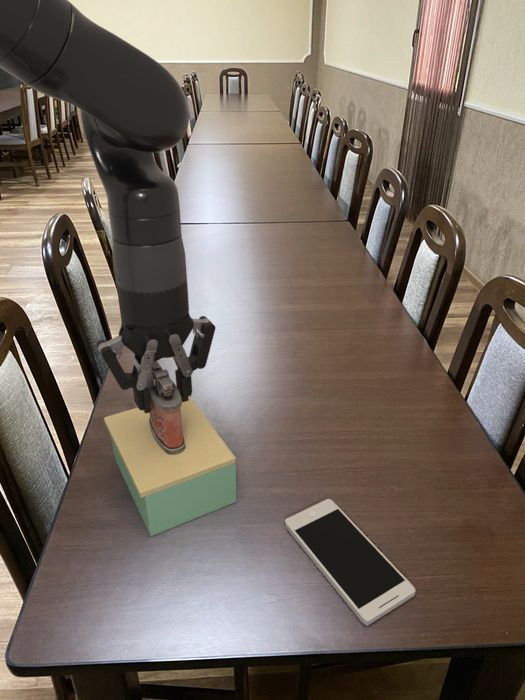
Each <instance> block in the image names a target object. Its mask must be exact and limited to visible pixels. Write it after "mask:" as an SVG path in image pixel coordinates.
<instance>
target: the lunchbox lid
mask: <svg viewBox="0 0 525 700" xmlns="http://www.w3.org/2000/svg"><path fill="white" fill-rule="evenodd" d="M188 397H189V401H186V402H182V406H181V407H180V408H181V419H182V430H183V436H184V439H185V446H186V448H185V450H184V451H183V452H182V453H180V454H177V455H168V454H167V453H165V452H164V451H163V450H162V449H161V448H160V447H159V445H158V444H157V442H156V441H155V440H154V437H153V435H152V433H151V429H150V425H149V417H150V413H146V414H145V413H144V411H143V410H141V411H140V409H139V408H138V406H137V407H134V408H131V409H126V410H124V411H121V412H117V413H115V414H114V413H113V414H111V415H108V416H105V417H103V421H104V424H105V426H106V429H107V431H108V433H109V434H110V438H111V437H112V439H113V441H114V443H115V445H116V447H117V449H118V451H119V454H120V456H121V458H122V460H123V462H124V464H125V466H126V468H127V470H128V472H129V474H130V477H131V479H132V481H133V483H134V485H135V487H136V489H137V491H138V493H139V495H140V497H141V498H142V497H145V496H147V495H150V494H153V493H155V492H158V491H161V490H163V489H166V488H169V487H171V486H174V485H177V484H179V483H182V482H185V481H187V480H190V479H193V478H195V477H198V476H201V475H203V474H206V473H209V472H212V471H214V470H217V469H220V468H222V467H225V466H228V465H230V464H233V463H236V462H237V460H236V459H237V458H236V456H235V455H234V454H233V452H232V450H231V449H230V448H229V447H228V446H227V444H226V442H224V440H223V438H222V437H221V436H220V435H219V433H218V432H217V431H216V429H215V428H214V427H213V425H212V424H211V422H210V421H209V420H208V419H207V417H206V415H205V414H204V413H203V411H202V410H201V409H200V408H199V407H198V405H197V404H196V402H195V401H194V399H193V398H192V396H188Z"/></svg>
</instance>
